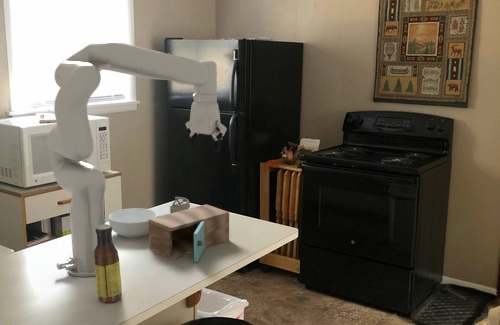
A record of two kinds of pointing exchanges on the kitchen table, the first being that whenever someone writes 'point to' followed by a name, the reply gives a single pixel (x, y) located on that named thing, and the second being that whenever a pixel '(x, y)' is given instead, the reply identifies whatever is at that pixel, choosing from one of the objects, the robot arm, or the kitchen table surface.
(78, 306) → the kitchen table surface
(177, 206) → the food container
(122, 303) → the kitchen table surface
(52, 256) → the kitchen table surface
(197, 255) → the door
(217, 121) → the robot arm
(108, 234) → the sauce bottle
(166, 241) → the cabinet
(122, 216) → the cereal bowl
